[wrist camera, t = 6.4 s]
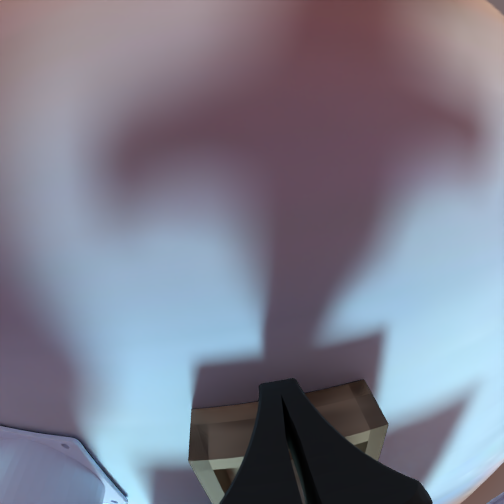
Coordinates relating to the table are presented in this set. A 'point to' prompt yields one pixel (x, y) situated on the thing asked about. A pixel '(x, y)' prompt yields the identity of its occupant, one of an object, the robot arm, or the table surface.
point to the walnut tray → (241, 427)
